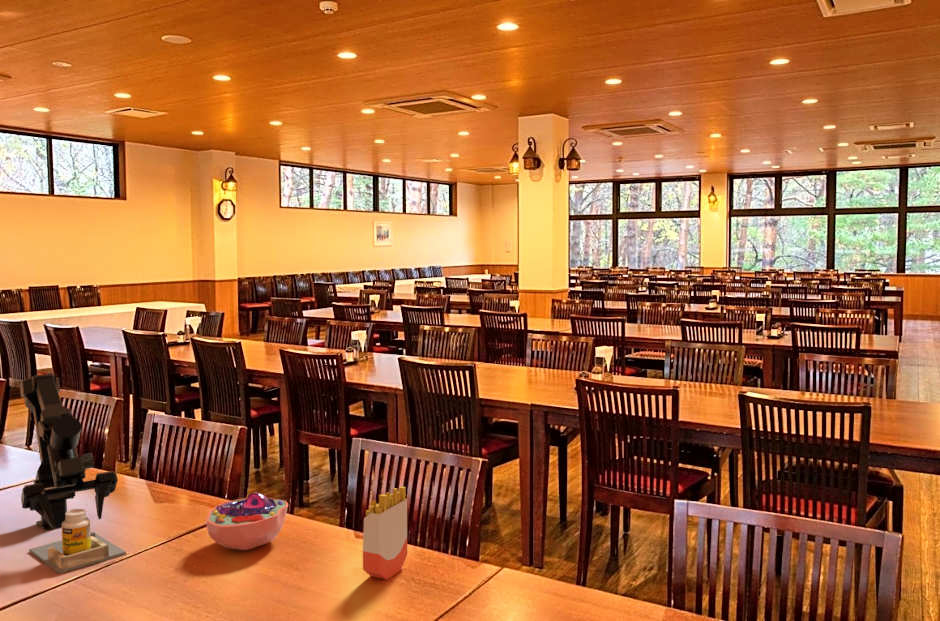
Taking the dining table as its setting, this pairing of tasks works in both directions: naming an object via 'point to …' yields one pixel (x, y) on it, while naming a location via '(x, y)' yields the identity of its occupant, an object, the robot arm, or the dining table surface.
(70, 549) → the supplement bottle
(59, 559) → the end holder
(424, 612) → the dining table surface
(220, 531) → the cell model
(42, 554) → the board
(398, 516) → the french fries container
